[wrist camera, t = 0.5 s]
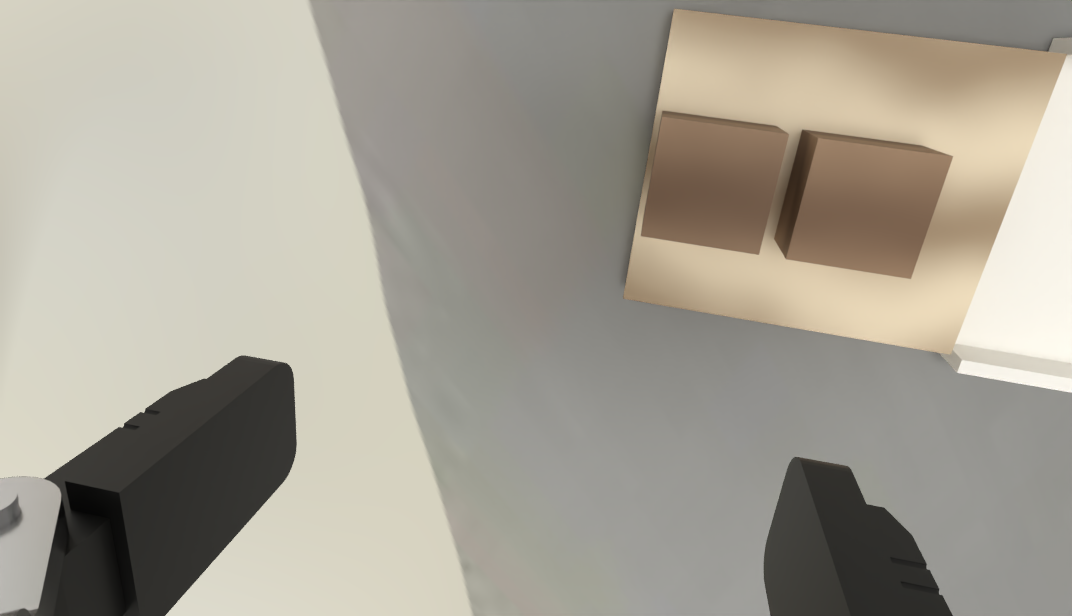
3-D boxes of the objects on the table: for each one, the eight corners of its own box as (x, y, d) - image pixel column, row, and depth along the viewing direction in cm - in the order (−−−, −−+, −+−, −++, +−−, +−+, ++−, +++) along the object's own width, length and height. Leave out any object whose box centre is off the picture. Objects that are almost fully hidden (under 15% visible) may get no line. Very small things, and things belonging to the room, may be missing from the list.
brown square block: (662, 110, 27) (662, 116, 24) (776, 125, 26) (789, 134, 24) (642, 218, 29) (640, 236, 26) (749, 235, 28) (759, 255, 25)
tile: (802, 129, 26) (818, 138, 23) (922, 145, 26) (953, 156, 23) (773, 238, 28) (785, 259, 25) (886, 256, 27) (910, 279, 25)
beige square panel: (673, 11, 27) (674, 8, 26) (1038, 54, 26) (1067, 53, 24) (625, 284, 32) (623, 298, 30) (933, 336, 30) (950, 354, 28)
